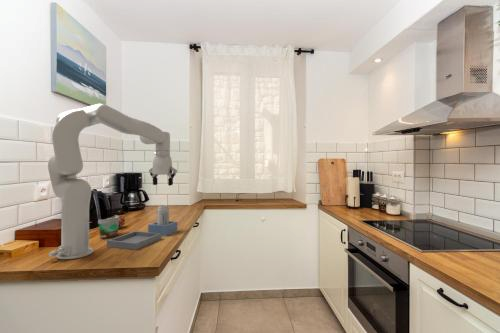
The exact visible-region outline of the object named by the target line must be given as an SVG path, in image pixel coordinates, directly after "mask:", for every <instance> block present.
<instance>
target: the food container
mask: <svg viewBox="0 0 500 333" xmlns="http://www.w3.org/2000/svg"><path fill="white" fill-rule="evenodd" d="M114 216H115V217H112V216H111V217H112V218H111V217H107V218H104V219H101V218H99V219H98V220H97V224H98V229H99V230H98V231H99V240H104V239H105V240H108V239H113V238H116V237H118V236H119V235H118V234H119V229H118V224H119V221H120V217H119V216H120V215H118V214H115V215H114Z"/></svg>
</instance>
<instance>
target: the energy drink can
mask: <svg viewBox="0 0 500 333" xmlns="http://www.w3.org/2000/svg"><path fill="white" fill-rule="evenodd" d="M156 211H157V216H156V217H157V218H156V219H157V221H156V222H157V225H167V224H169V221H170V209H169V206H168V205H167V204H162V205H161V204H160V205H158V207H157V210H156Z"/></svg>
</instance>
